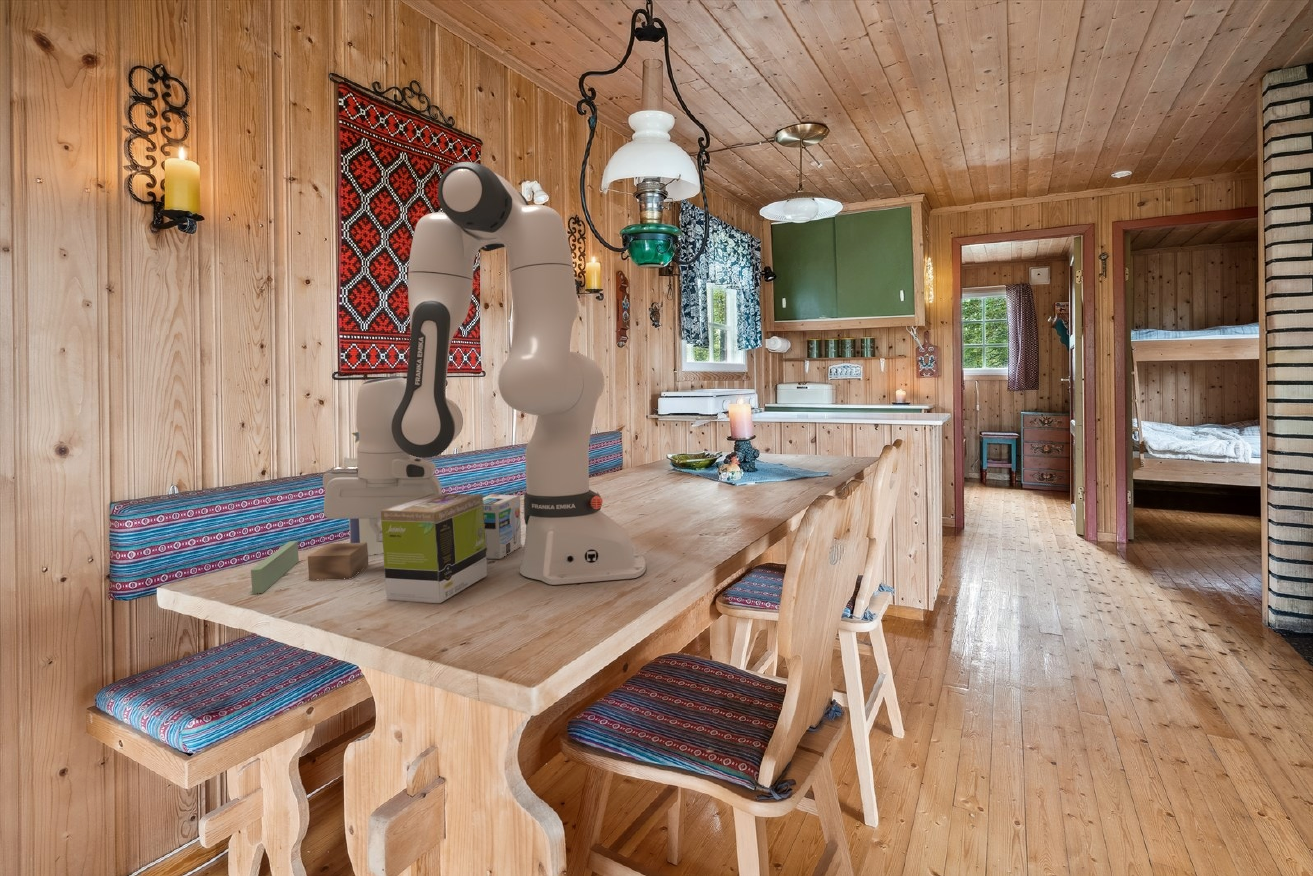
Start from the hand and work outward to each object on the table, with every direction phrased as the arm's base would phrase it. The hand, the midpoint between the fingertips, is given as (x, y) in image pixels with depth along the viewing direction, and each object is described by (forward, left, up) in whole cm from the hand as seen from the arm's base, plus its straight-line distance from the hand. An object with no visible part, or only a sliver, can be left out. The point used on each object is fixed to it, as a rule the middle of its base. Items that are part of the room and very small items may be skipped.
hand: (385, 541), depth 125 cm
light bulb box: (-18, -10, -5) cm, 21 cm away
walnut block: (+8, +2, -5) cm, 9 cm away
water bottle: (+8, -13, -5) cm, 16 cm away
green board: (+18, +4, -5) cm, 19 cm away
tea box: (-13, +13, -5) cm, 19 cm away
